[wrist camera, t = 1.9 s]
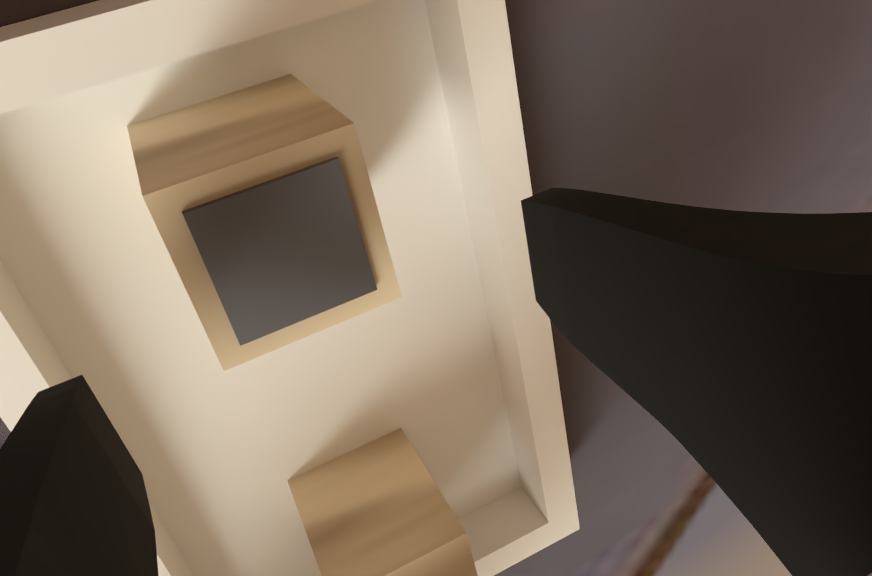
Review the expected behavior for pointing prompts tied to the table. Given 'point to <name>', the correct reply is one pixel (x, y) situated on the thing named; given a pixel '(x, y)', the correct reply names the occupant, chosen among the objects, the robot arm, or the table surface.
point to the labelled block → (265, 215)
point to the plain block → (380, 515)
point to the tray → (315, 354)
